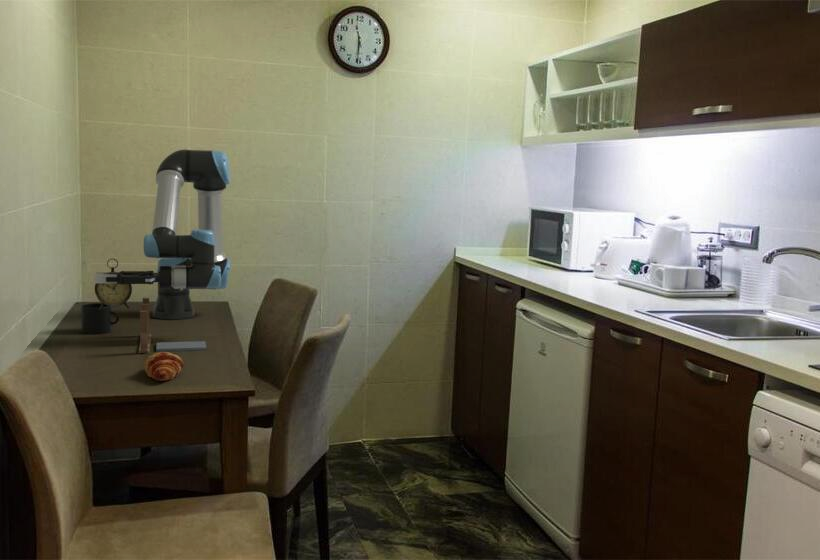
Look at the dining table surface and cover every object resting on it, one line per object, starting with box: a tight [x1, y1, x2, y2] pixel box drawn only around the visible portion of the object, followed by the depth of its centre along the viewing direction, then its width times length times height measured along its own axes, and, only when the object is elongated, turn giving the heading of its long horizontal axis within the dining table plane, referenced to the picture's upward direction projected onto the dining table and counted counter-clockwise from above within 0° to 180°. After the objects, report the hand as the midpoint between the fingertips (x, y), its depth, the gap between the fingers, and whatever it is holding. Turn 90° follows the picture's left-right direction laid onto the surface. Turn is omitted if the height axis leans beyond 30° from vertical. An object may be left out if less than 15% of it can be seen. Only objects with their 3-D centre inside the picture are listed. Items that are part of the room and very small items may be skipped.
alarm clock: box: [94, 258, 133, 310], centre depth 241 cm, size 11×5×16 cm, turn 115°
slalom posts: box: [138, 297, 152, 354], centre depth 241 cm, size 26×3×13 cm, turn 18°
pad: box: [155, 340, 208, 352], centre depth 239 cm, size 9×15×1 cm, turn 108°
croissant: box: [144, 351, 185, 382], centre depth 207 cm, size 21×10×8 cm, turn 18°
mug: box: [80, 302, 120, 335], centre depth 257 cm, size 9×12×9 cm
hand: (95, 277), depth 239 cm, fingers closed on alarm clock, 5 cm apart
